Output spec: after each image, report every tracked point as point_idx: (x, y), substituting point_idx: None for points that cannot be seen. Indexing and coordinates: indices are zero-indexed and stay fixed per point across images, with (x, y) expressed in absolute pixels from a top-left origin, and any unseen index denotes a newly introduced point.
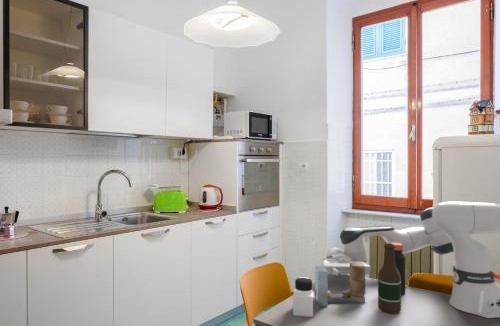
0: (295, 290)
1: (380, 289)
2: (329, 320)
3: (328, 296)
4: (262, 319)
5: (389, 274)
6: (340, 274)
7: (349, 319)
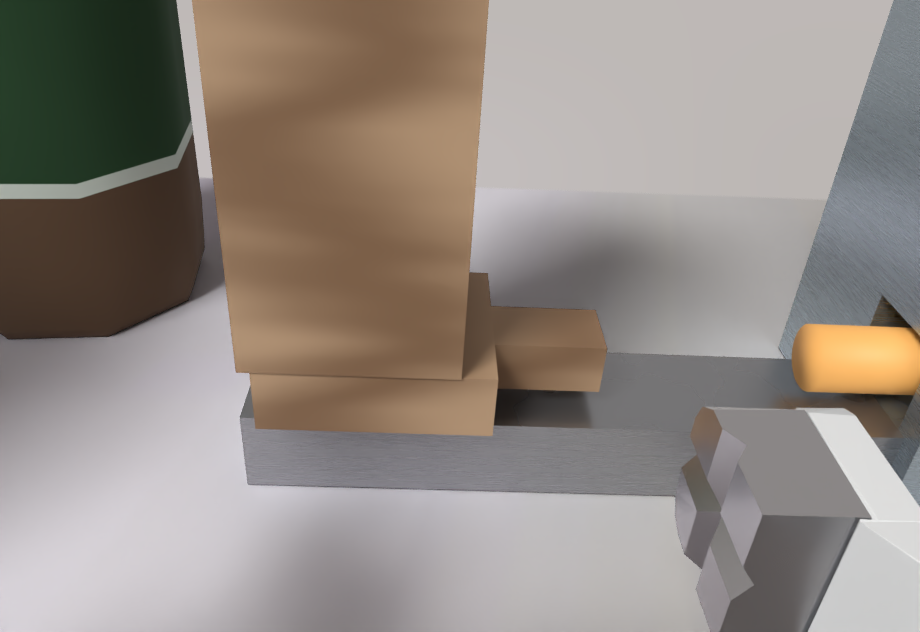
0: None
1: (173, 31)
2: (721, 202)
3: None
4: None
5: None
6: (686, 466)
7: (562, 204)
